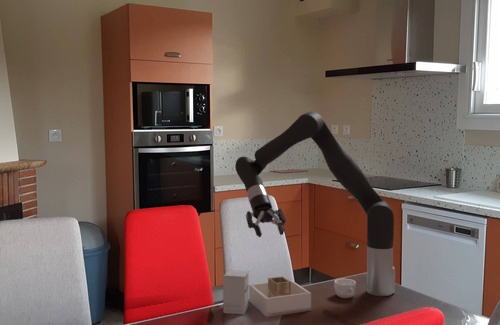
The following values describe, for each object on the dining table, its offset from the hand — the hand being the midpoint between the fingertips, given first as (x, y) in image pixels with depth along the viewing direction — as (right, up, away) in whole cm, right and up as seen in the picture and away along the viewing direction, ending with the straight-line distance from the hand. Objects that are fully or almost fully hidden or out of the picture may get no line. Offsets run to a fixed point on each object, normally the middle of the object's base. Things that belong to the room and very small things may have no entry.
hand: (271, 234), depth 182 cm
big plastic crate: (+2, -23, -10) cm, 25 cm away
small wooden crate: (+2, -22, -10) cm, 24 cm away
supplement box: (-12, -23, -13) cm, 30 cm away
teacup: (+27, -22, -1) cm, 35 cm away
